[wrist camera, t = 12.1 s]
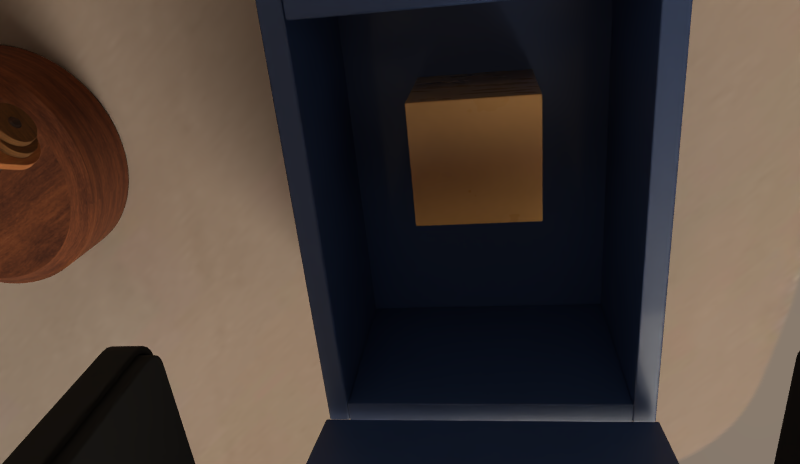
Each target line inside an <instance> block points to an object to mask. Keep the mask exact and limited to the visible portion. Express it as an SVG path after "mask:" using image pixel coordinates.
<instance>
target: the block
mask: <svg viewBox="0 0 800 464" xmlns="http://www.w3.org/2000/svg"><path fill="white" fill-rule="evenodd" d="M405 115H406V125H407V136H408V147H409V157H410V168H411V179H412V189H413V200H414V211H415V221H416V226H431V225H457V224H482V223H508V222H533V221H543V124H542V92H541V90H540V87H539V85H538V82H537V80H536V77H535V75H534V72H533V70H532V69H524V70H510V71H497V72H484V73H471V74H457V75H444V76H431V77H418V78H417V80H416V82H415V84H414V86H413V88H412V90H411V92H410V94H409V96H408V98H407V100H406V102H405Z"/></svg>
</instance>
